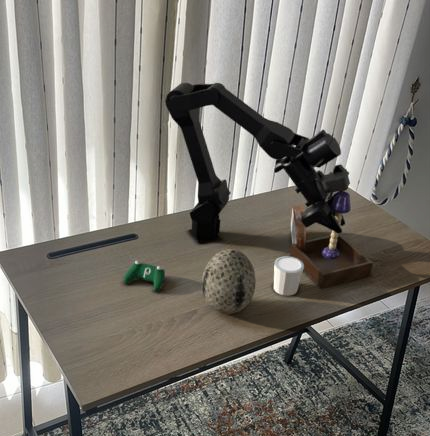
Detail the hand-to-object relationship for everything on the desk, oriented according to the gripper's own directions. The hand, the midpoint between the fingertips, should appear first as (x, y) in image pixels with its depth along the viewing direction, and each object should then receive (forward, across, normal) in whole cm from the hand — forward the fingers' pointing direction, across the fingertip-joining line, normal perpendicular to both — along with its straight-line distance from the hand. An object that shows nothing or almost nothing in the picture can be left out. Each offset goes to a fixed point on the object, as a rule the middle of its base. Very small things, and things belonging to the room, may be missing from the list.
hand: (342, 228), depth 161 cm
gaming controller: (-20, -26, +36) cm, 49 cm away
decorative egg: (-5, -27, +22) cm, 35 cm away
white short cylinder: (+2, -14, +14) cm, 20 cm away
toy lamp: (+5, 0, +6) cm, 8 cm away
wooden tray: (+7, 0, +9) cm, 11 cm away
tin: (0, +7, +16) cm, 18 cm away
